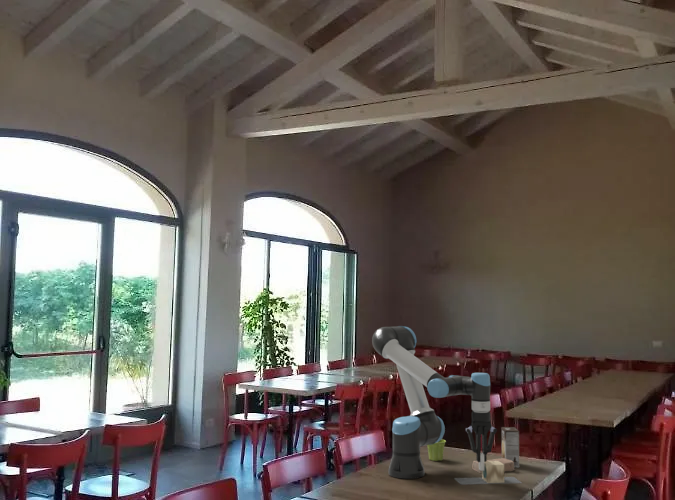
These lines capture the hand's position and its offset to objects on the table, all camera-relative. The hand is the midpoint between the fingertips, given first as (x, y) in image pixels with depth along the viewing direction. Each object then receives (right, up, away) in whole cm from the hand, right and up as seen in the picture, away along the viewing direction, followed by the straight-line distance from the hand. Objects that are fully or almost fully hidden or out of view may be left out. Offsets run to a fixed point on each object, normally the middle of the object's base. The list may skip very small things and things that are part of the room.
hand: (481, 469), depth 284 cm
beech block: (+1, -1, 0) cm, 2 cm away
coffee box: (+19, -7, +29) cm, 35 cm away
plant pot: (-13, -8, +38) cm, 41 cm away
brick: (+9, -7, +18) cm, 21 cm away
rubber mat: (+3, -5, 0) cm, 5 cm away
